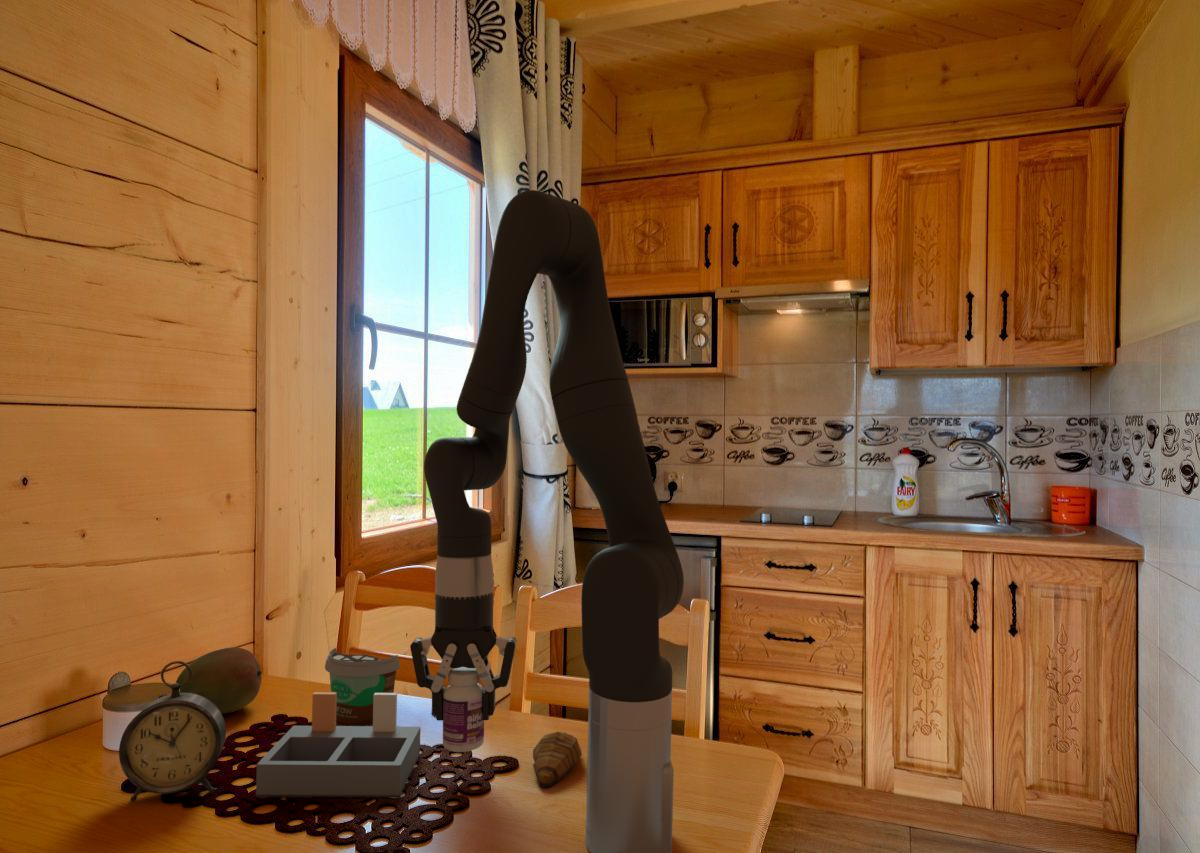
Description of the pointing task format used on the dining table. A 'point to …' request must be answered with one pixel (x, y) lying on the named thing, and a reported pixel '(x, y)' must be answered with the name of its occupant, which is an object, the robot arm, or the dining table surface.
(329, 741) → the grey divided tray
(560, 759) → the croissant
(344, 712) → the food container
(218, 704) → the fruit
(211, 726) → the alarm clock
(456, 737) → the pill bottle
